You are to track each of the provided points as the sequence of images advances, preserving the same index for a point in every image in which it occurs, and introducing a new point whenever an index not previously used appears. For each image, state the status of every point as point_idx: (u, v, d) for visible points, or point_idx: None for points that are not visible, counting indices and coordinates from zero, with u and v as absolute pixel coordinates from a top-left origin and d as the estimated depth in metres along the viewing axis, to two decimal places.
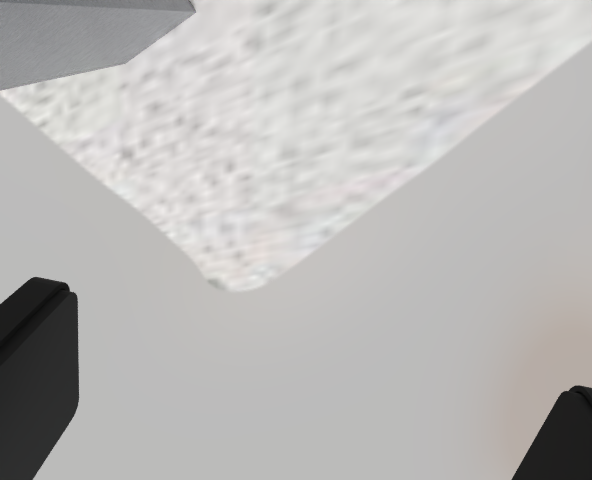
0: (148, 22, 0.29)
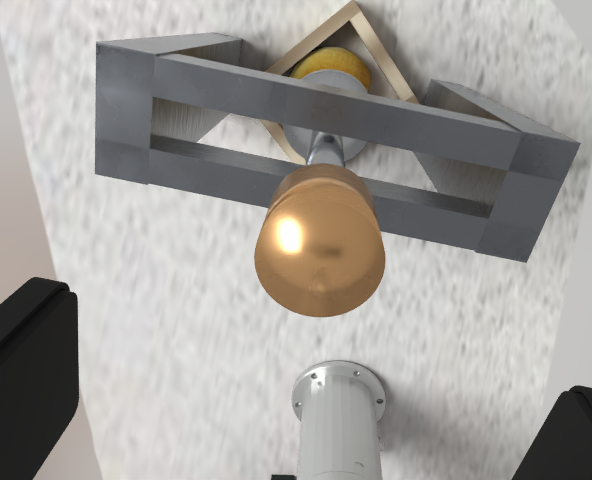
0: None
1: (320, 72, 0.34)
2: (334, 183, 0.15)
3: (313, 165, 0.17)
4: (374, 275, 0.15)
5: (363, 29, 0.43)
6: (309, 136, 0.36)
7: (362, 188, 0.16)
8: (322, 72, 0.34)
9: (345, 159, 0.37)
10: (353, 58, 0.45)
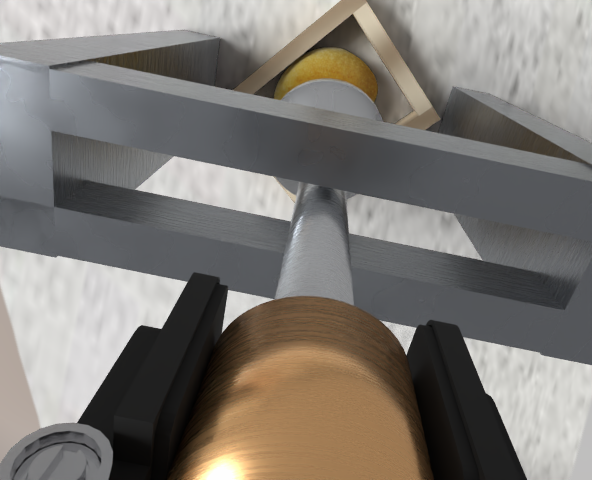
0: None
1: (314, 83, 0.26)
2: (332, 384, 0.07)
3: (289, 303, 0.08)
4: None
5: (369, 25, 0.34)
6: None
7: (391, 364, 0.08)
8: (317, 83, 0.26)
9: (348, 196, 0.28)
10: (356, 61, 0.36)
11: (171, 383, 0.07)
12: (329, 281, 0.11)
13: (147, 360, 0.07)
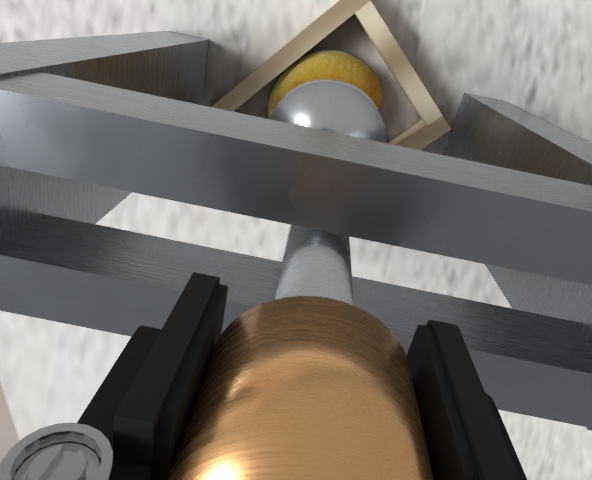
0: None
1: (314, 83, 0.26)
2: (331, 385, 0.07)
3: (289, 303, 0.08)
4: None
5: (373, 25, 0.31)
6: None
7: (391, 364, 0.08)
8: (317, 83, 0.26)
9: None
10: (359, 66, 0.32)
11: (171, 383, 0.07)
12: (329, 281, 0.11)
13: (147, 360, 0.07)
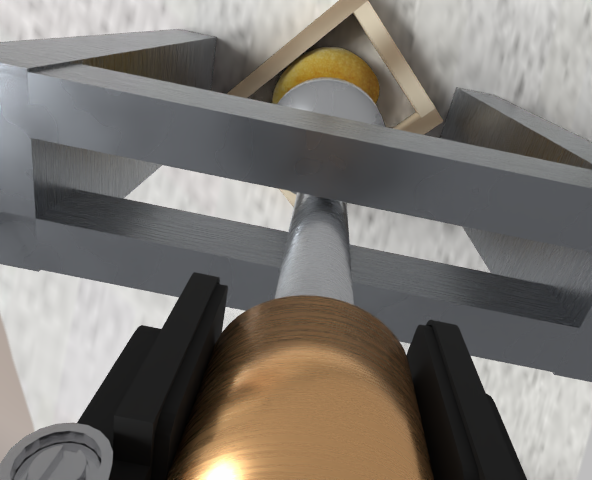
0: None
1: (314, 82, 0.26)
2: (331, 384, 0.07)
3: (289, 302, 0.08)
4: None
5: (370, 24, 0.33)
6: None
7: (391, 364, 0.08)
8: (317, 82, 0.26)
9: None
10: (357, 62, 0.35)
11: (171, 383, 0.07)
12: (329, 280, 0.11)
13: (147, 360, 0.07)
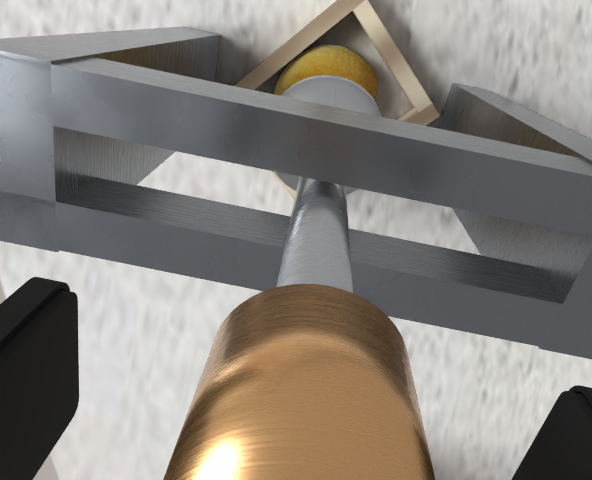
0: None
1: (314, 79, 0.26)
2: (331, 367, 0.07)
3: (290, 290, 0.09)
4: None
5: (369, 21, 0.34)
6: None
7: (389, 349, 0.08)
8: (317, 79, 0.26)
9: (348, 191, 0.28)
10: (356, 59, 0.36)
11: None
12: (329, 271, 0.11)
13: None
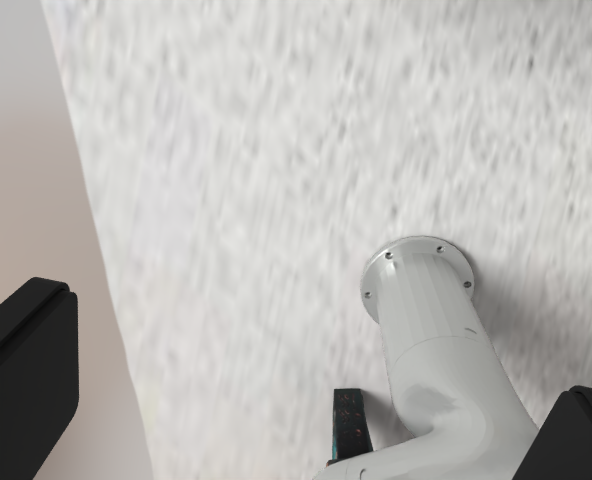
0: None
1: None
2: None
3: None
4: None
5: None
6: None
7: None
8: None
9: None
10: None
11: None
12: None
13: None
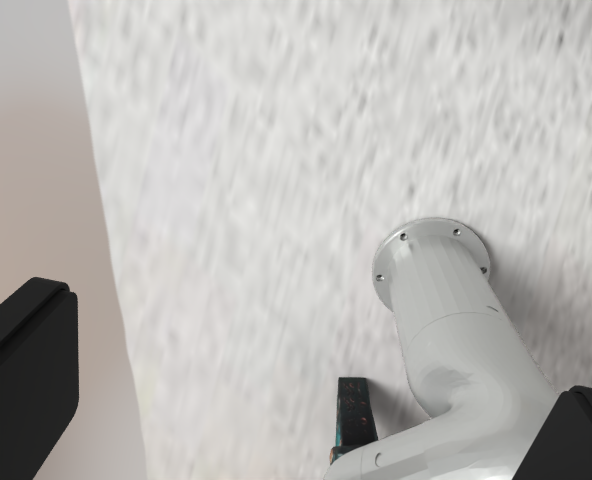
0: None
1: None
2: None
3: None
4: None
5: None
6: None
7: None
8: None
9: None
10: None
11: None
12: None
13: None
